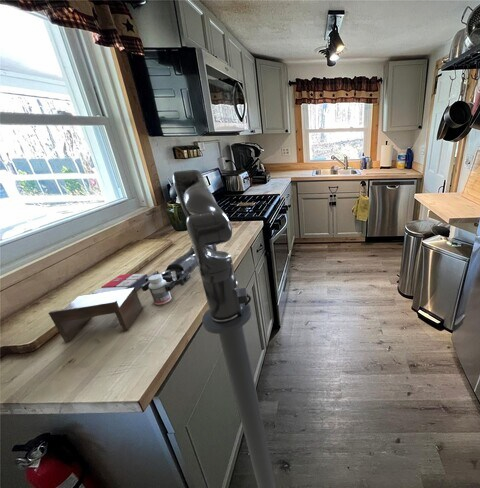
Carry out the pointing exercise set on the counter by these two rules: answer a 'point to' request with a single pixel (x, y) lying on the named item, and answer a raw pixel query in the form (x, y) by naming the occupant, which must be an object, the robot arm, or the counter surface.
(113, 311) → the spice shelf
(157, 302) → the pill bottle
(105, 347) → the counter surface
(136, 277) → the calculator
